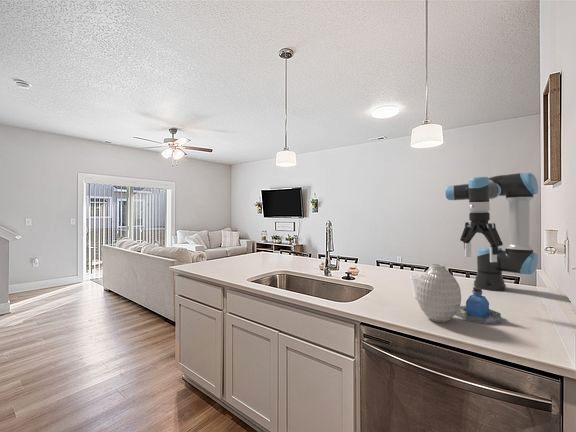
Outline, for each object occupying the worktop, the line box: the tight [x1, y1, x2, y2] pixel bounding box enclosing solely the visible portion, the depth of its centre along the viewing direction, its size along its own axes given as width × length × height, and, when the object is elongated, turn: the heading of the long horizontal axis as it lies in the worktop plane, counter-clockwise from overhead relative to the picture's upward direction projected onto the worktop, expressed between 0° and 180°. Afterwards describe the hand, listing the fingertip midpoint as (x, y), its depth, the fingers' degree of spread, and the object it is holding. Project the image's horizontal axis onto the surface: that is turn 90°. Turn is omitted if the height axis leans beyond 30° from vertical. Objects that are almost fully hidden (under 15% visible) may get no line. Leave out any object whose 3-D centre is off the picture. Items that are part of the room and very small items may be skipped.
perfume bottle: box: [465, 286, 490, 316], centre depth 117 cm, size 6×6×12 cm
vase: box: [416, 263, 462, 323], centre depth 114 cm, size 16×16×22 cm
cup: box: [409, 274, 422, 300], centre depth 142 cm, size 10×10×11 cm
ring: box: [454, 305, 502, 325], centre depth 117 cm, size 16×16×3 cm
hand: (480, 259), depth 125 cm, fingers open, 13 cm apart
